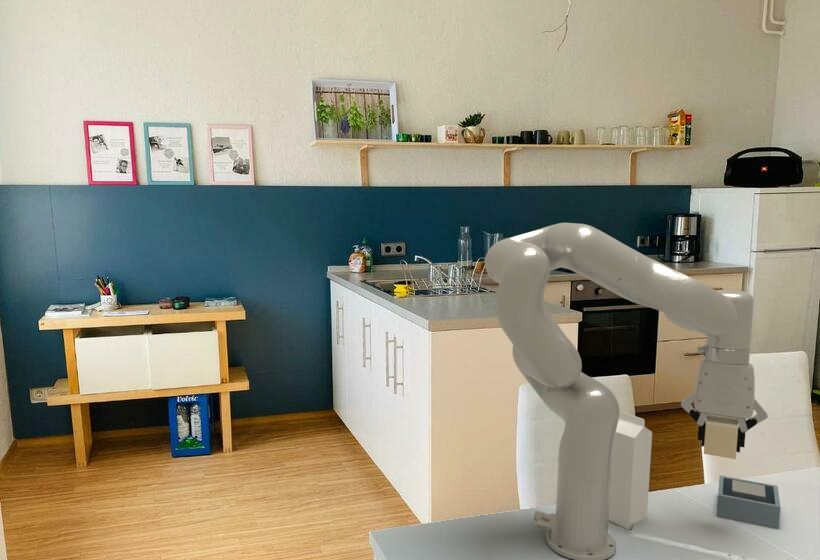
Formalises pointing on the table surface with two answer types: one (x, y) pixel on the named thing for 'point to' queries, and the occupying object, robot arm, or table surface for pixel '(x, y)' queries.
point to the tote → (748, 505)
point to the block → (748, 491)
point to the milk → (630, 471)
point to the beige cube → (721, 436)
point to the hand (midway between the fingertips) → (720, 446)
